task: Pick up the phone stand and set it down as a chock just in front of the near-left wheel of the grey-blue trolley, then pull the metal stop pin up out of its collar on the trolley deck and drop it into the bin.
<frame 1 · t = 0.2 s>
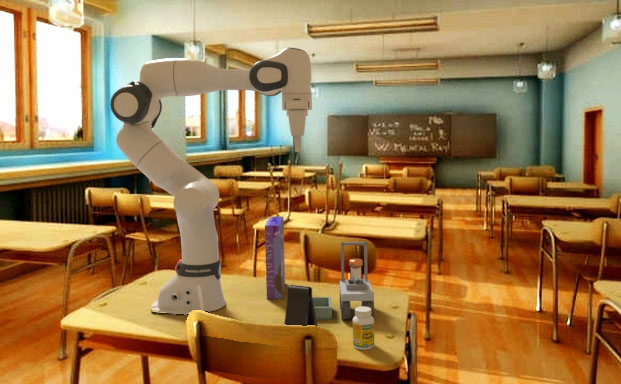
hand: (298, 151, 161), 47 cm above the table, tool pointing down, fingers open, 8 cm apart
cereal box: (276, 291, 181), on the table
bin: (315, 313, 158), on the table
supplement bottle: (363, 346, 134), on the table
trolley: (356, 313, 158), on the table
phone stand: (300, 330, 146), on the table
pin: (356, 287, 157), point 8 cm above the table, touching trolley
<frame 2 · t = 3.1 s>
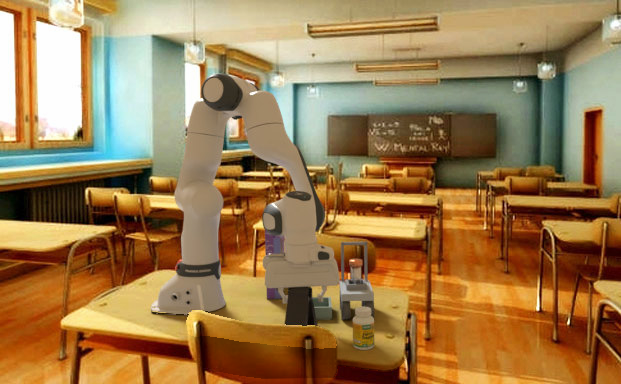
hand: (303, 302, 146), 7 cm above the table, tool pointing down, fingers open, 8 cm apart
phone stand: (300, 329, 146), on the table, touching gripper
everything else where it was.
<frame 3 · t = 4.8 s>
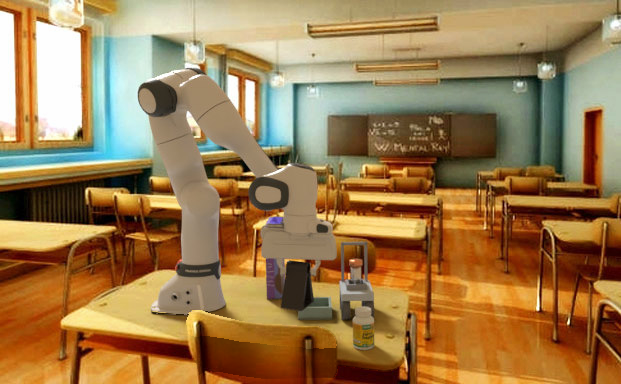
hand: (298, 274, 145), 15 cm above the table, tool pointing down, fingers closed on phone stand, 7 cm apart
phone stand: (297, 305, 146), point 6 cm above the table, touching gripper
everything else where it was.
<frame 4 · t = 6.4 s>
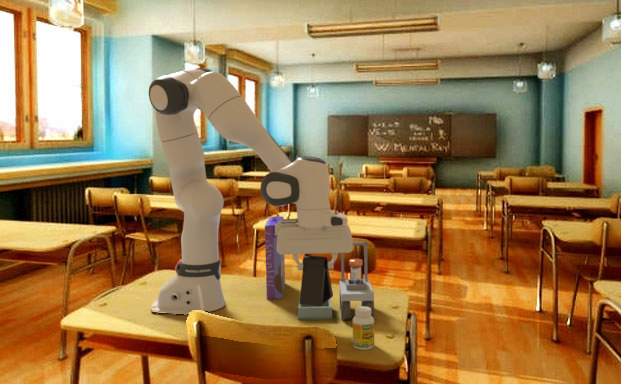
hand: (315, 269, 143), 17 cm above the table, tool pointing down, fingers closed on phone stand, 7 cm apart
phone stand: (316, 300, 145), point 8 cm above the table, touching gripper
everything else where it was.
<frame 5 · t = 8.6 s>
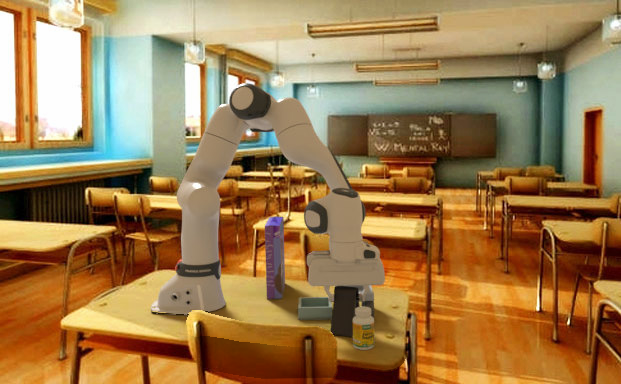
hand: (346, 301, 144), 8 cm above the table, tool pointing down, fingers closed on phone stand, 7 cm apart
phone stand: (346, 330, 145), on the table, touching gripper
everything else where it was.
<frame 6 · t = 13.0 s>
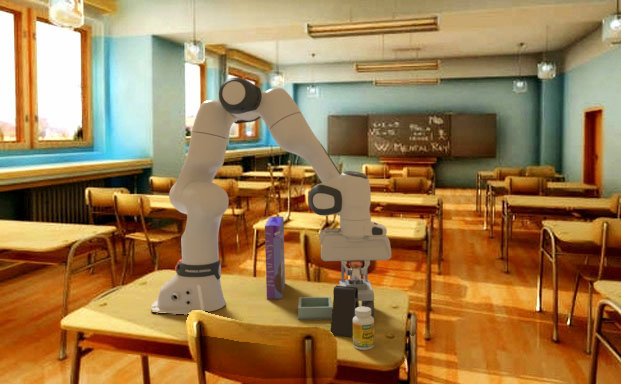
hand: (355, 275, 156), 12 cm above the table, tool pointing down, fingers closed on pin, 3 cm apart
phone stand: (346, 331, 145), on the table
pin: (355, 287, 157), point 8 cm above the table, touching gripper, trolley
everything else where it was.
when the fingers open (6 cm above the table, at t = 19.5 s): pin drops 2 cm, resting on bin.
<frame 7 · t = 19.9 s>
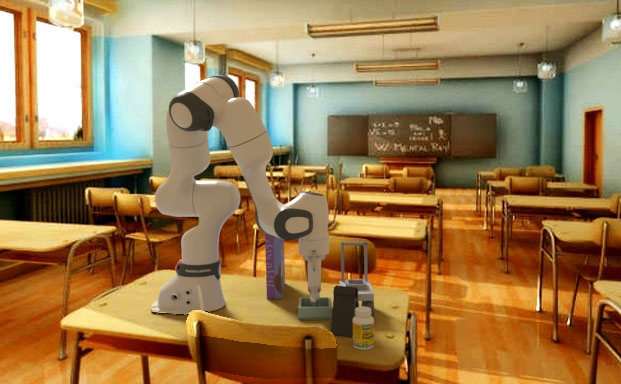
hand: (314, 293, 157), 6 cm above the table, tool pointing down, fingers open, 7 cm apart
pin: (315, 311, 158), point 1 cm above the table, touching bin
everything else where it was.
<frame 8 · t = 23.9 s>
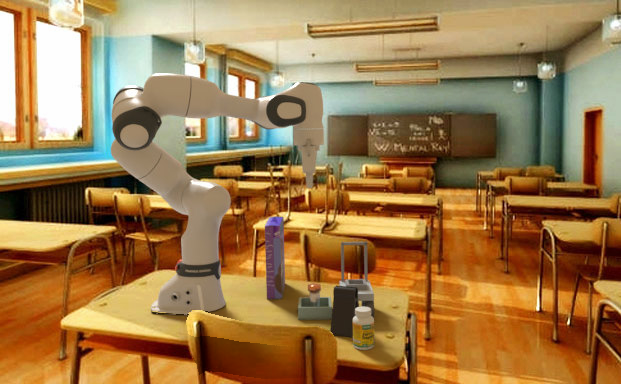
hand: (309, 186, 159), 37 cm above the table, tool pointing down, fingers open, 8 cm apart
nothing on the table moved.
at the end: phone stand inside the target area on the table beside the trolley (1.3 cm from its centre), on the table; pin inside the target area on the bin (0.0 cm from its centre), point 0.6 cm above the bin's base; the gripper is holding nothing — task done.
